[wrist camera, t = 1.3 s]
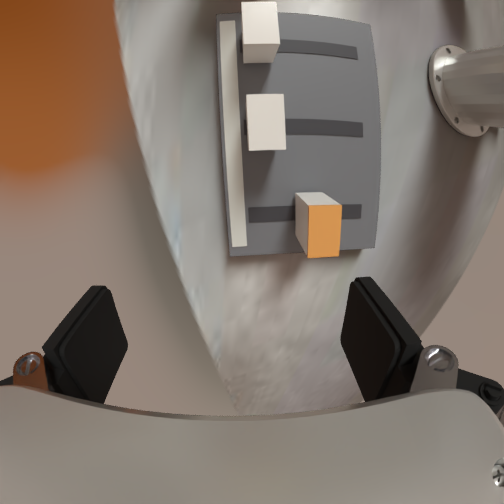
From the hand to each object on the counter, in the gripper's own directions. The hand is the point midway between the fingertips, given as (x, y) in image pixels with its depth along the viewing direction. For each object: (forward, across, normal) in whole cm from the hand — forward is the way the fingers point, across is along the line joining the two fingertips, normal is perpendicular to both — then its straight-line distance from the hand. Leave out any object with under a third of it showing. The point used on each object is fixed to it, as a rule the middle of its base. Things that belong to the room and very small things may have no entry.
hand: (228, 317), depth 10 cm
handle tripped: (+16, -6, 0) cm, 17 cm away
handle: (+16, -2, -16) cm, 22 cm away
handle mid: (+15, -2, -8) cm, 17 cm away
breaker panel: (+18, -6, -8) cm, 21 cm away
